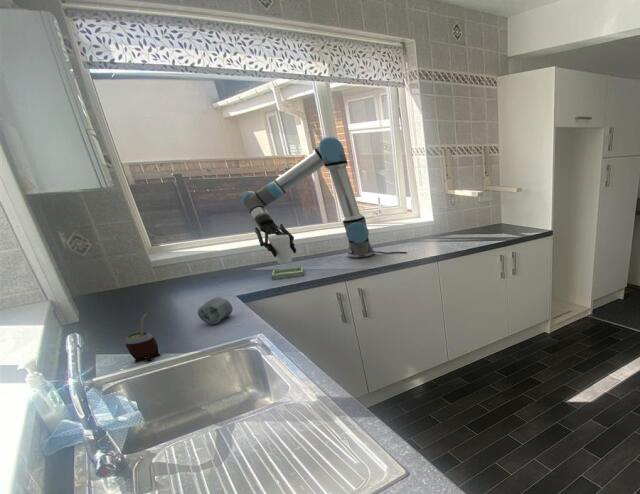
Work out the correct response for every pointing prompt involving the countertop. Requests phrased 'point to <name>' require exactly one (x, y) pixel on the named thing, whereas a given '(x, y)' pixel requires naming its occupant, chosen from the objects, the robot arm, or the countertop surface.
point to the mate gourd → (142, 344)
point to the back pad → (287, 273)
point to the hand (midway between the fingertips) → (285, 253)
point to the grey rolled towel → (215, 310)
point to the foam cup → (281, 248)
